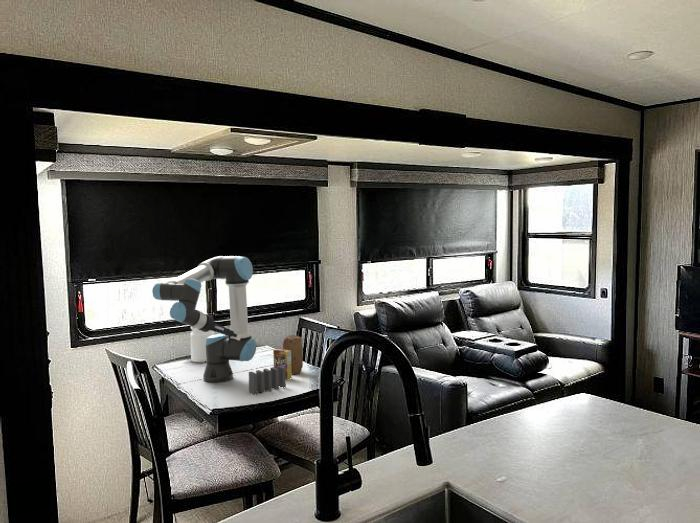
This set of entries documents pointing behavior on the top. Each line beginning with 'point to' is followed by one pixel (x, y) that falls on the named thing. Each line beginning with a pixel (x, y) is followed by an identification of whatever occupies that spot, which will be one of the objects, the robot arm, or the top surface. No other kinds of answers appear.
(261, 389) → the domino
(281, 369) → the domino
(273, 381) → the domino
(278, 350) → the candy box
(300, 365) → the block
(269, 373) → the domino
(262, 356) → the top surface
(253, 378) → the domino
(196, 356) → the bottle
